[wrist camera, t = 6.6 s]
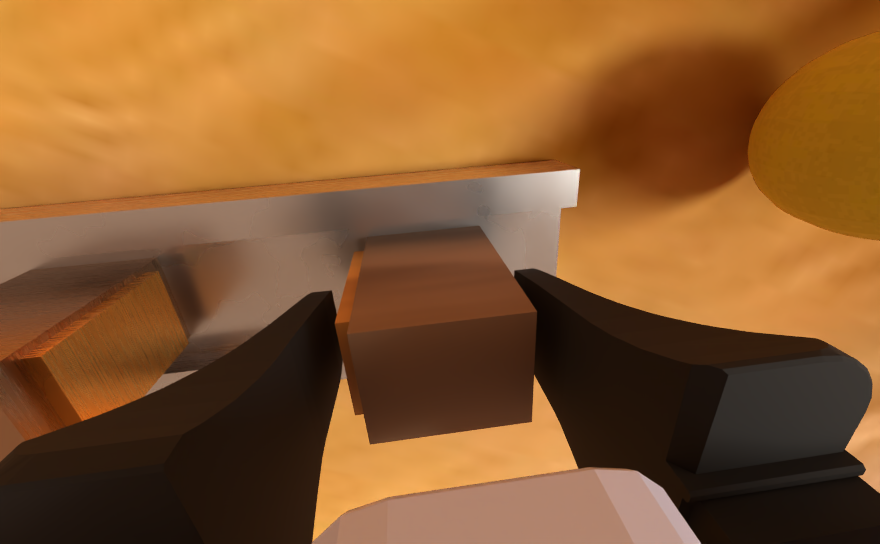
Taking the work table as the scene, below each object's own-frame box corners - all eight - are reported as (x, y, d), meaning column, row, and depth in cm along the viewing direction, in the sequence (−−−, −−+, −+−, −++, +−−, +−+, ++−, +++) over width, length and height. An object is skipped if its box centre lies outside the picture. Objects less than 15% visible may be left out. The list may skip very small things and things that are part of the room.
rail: (545, 323, 16) (634, 456, 10) (9, 388, 15) (-262, 590, 9) (555, 159, 13) (689, 209, 7) (-114, 219, 12) (-654, 346, 6)
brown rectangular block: (481, 303, 15) (531, 421, 9) (368, 316, 14) (353, 446, 9) (479, 225, 13) (537, 311, 8) (355, 237, 13) (327, 336, 8)
